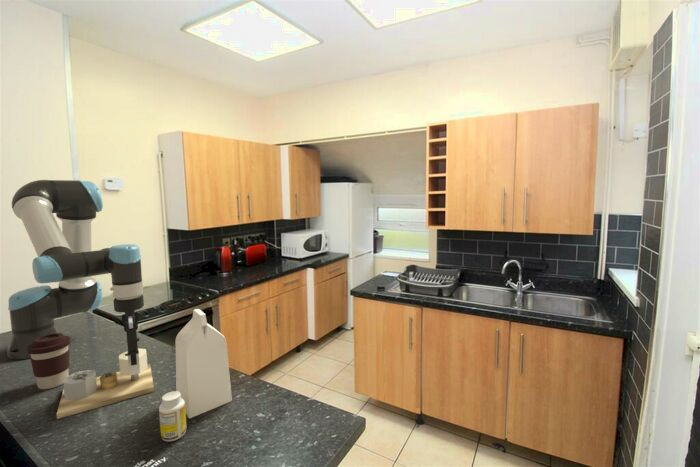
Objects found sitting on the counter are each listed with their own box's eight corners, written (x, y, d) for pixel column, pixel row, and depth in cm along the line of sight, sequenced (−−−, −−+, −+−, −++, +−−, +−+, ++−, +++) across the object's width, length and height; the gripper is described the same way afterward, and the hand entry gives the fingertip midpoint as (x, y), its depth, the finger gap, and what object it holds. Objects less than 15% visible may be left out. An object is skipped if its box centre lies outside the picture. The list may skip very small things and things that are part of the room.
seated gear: (67, 391, 97) (65, 374, 96) (97, 383, 101) (95, 367, 100) (63, 403, 91) (62, 386, 91) (95, 394, 95) (94, 378, 95)
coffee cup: (49, 394, 98) (43, 345, 96) (22, 390, 100) (16, 342, 98) (82, 376, 107) (77, 332, 106) (57, 373, 109) (52, 329, 108)
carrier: (65, 389, 100) (63, 368, 100) (150, 368, 113) (149, 349, 112) (57, 419, 87) (54, 395, 86) (154, 391, 99) (152, 370, 99)
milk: (232, 400, 95) (228, 312, 92) (189, 418, 87) (183, 323, 84) (216, 383, 104) (212, 302, 101) (176, 397, 96) (170, 311, 93)
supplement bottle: (180, 423, 86) (178, 386, 84) (190, 433, 82) (188, 394, 81) (157, 435, 81) (154, 396, 80) (166, 446, 78) (163, 405, 77)
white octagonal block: (146, 361, 108) (145, 346, 107) (148, 370, 102) (146, 355, 101) (120, 367, 104) (119, 352, 103) (120, 377, 98) (118, 361, 97)
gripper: (113, 290, 106) (119, 358, 109) (112, 307, 90) (119, 387, 93) (141, 286, 111) (146, 352, 113) (145, 302, 94) (150, 379, 97)
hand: (134, 368), depth 103 cm, fingers closed on white octagonal block, 7 cm apart
